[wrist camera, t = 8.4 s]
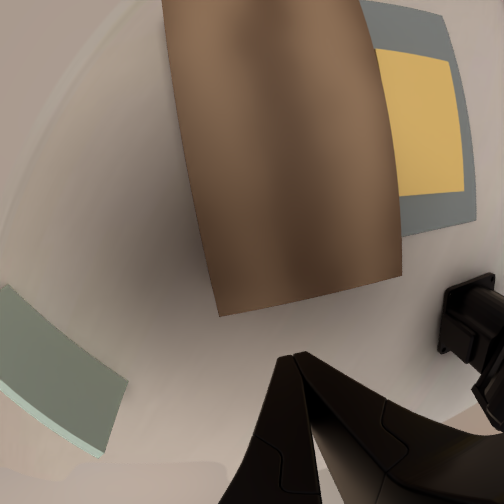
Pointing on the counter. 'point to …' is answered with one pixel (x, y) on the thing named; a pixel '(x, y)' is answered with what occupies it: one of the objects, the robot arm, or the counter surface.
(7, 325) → the right angle wall
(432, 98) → the yellow flat block
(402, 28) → the mat
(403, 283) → the counter surface
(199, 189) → the brown flat block
